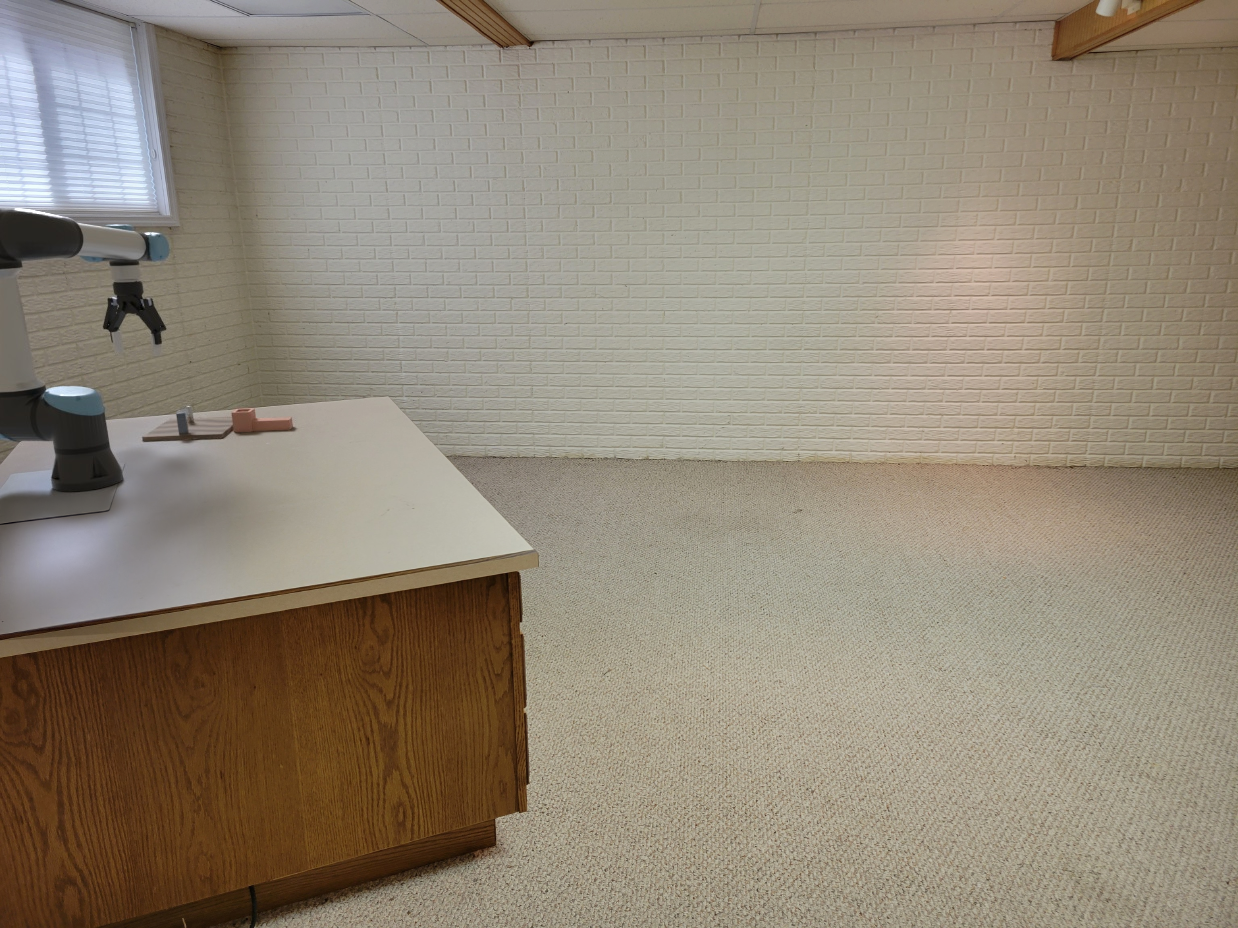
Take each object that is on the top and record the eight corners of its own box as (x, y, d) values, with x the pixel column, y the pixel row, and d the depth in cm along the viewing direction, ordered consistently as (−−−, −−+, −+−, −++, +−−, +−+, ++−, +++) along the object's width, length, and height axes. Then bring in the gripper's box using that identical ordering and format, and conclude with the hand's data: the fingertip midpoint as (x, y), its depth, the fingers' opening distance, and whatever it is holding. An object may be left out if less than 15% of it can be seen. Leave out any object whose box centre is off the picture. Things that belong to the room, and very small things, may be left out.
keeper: (188, 437, 262) (185, 413, 260) (179, 438, 261) (176, 413, 259) (191, 433, 267) (187, 409, 265) (182, 433, 266) (178, 409, 264)
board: (222, 438, 261) (221, 434, 261) (142, 441, 258) (142, 437, 258) (243, 420, 284) (243, 416, 284) (170, 422, 281) (170, 418, 281)
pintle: (193, 426, 276) (190, 406, 274) (187, 426, 275) (184, 407, 274) (195, 425, 277) (192, 405, 276) (189, 425, 277) (186, 405, 275)
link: (293, 426, 276) (291, 407, 274) (289, 430, 270) (287, 410, 269) (238, 428, 273) (236, 408, 272) (233, 432, 268) (231, 412, 267)
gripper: (173, 280, 254) (183, 354, 260) (102, 279, 260) (114, 351, 266) (152, 282, 247) (164, 358, 253) (81, 281, 254) (93, 355, 259)
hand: (138, 355), depth 259 cm, fingers open, 13 cm apart
